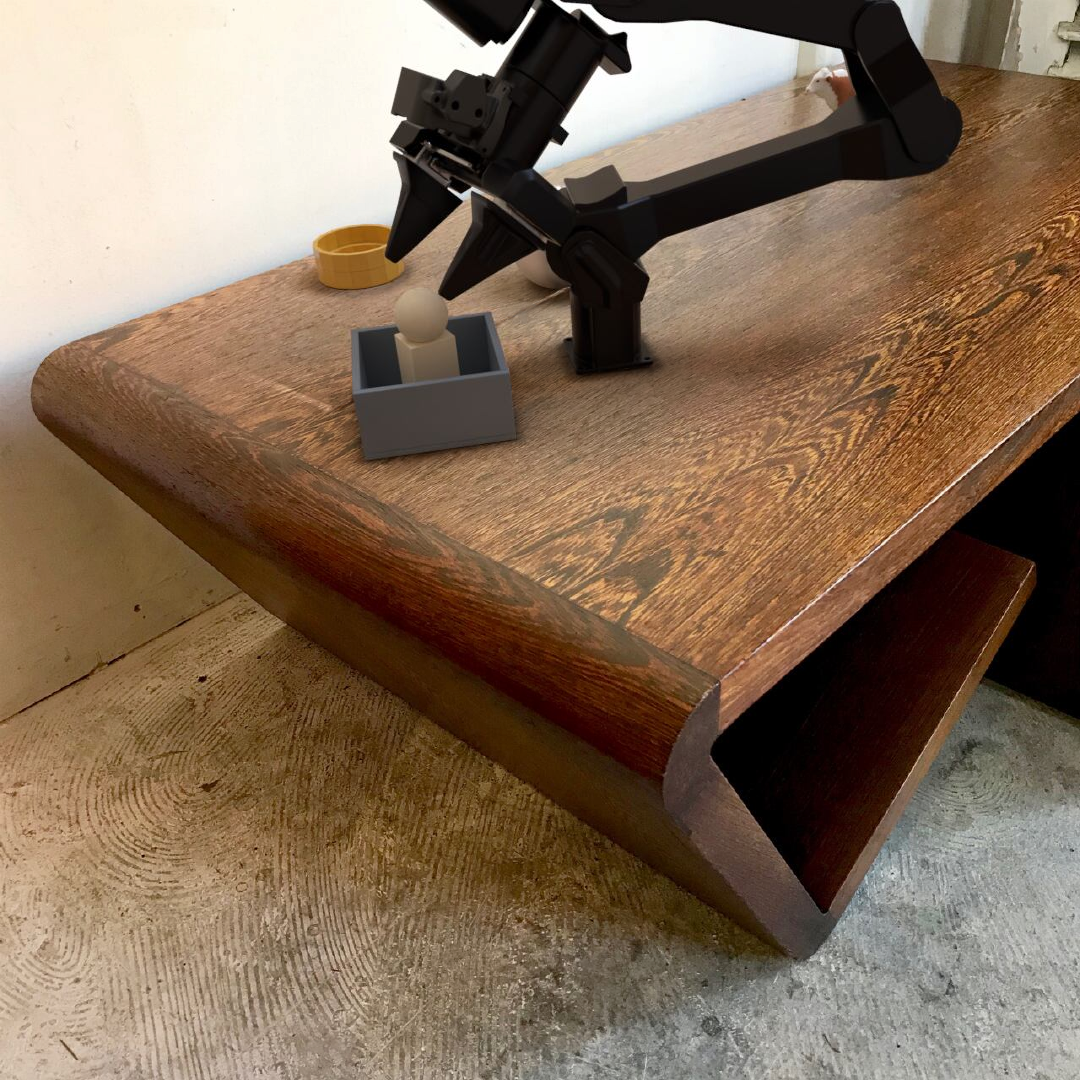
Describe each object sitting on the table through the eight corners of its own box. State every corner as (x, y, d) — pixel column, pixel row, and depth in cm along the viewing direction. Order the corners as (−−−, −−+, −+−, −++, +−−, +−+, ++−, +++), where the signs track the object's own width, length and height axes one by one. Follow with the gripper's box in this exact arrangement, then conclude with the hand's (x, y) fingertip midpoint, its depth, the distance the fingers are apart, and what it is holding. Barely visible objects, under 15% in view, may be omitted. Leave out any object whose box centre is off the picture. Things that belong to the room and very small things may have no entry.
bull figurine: (797, 135, 136) (801, 67, 131) (880, 116, 140) (888, 50, 135) (818, 142, 133) (823, 73, 128) (903, 123, 137) (911, 56, 132)
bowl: (407, 287, 104) (401, 248, 101) (320, 299, 103) (311, 259, 101) (402, 257, 111) (397, 219, 108) (320, 267, 110) (313, 229, 108)
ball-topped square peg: (447, 389, 84) (431, 274, 79) (468, 408, 81) (453, 291, 76) (401, 403, 83) (381, 287, 77) (421, 423, 80) (403, 305, 74)
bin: (516, 439, 78) (509, 372, 75) (365, 460, 77) (352, 394, 74) (497, 373, 87) (490, 310, 84) (362, 391, 86) (350, 329, 83)
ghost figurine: (541, 314, 96) (533, 205, 90) (499, 281, 103) (489, 178, 97) (627, 291, 99) (625, 184, 93) (581, 260, 106) (576, 159, 100)
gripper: (395, 0, 76) (282, 187, 78) (524, 33, 63) (383, 258, 65) (500, 95, 84) (394, 263, 86) (635, 143, 70) (505, 340, 72)
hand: (415, 278), depth 77 cm, fingers open, 9 cm apart
